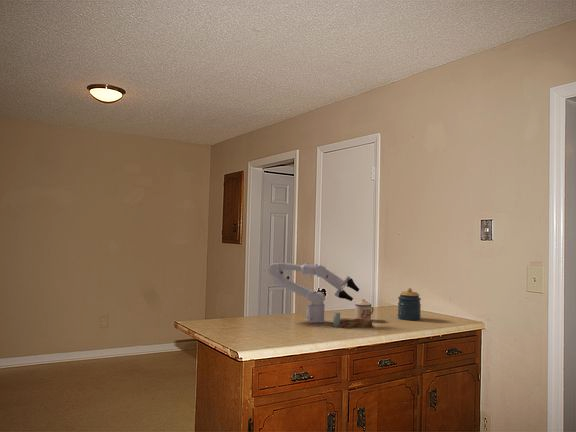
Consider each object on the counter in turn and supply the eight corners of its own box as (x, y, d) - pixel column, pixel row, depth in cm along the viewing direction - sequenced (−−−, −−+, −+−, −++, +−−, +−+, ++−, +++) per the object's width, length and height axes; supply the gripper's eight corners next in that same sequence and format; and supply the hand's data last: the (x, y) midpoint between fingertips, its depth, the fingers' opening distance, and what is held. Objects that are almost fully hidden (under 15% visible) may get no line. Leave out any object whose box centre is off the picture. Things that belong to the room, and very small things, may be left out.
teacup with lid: (362, 321, 267) (362, 300, 268) (351, 319, 275) (351, 298, 275) (378, 320, 273) (378, 299, 274) (367, 317, 281) (368, 297, 282)
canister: (423, 321, 275) (423, 289, 276) (400, 320, 276) (400, 289, 276) (417, 317, 288) (418, 287, 289) (395, 316, 289) (396, 286, 289)
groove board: (343, 327, 249) (343, 322, 249) (335, 323, 260) (335, 318, 260) (372, 327, 253) (372, 322, 253) (362, 322, 264) (363, 318, 264)
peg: (334, 327, 249) (334, 313, 249) (332, 326, 252) (332, 312, 252) (340, 327, 250) (341, 313, 250) (338, 326, 253) (338, 312, 253)
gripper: (330, 285, 255) (352, 300, 253) (343, 268, 265) (364, 282, 262) (326, 292, 261) (347, 307, 258) (338, 275, 270) (359, 289, 267)
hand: (355, 295), depth 260 cm, fingers open, 7 cm apart
